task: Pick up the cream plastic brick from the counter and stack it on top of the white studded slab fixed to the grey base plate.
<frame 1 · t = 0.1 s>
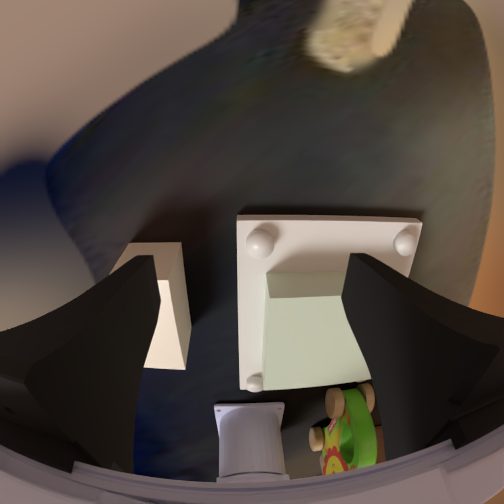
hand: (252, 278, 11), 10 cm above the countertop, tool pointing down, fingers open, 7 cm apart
block: (352, 439, 39), on the countertop
white studded slab: (320, 314, 25), on the countertop
cream brick: (162, 287, 23), on the countertop
toy lion: (333, 412, 34), on the countertop
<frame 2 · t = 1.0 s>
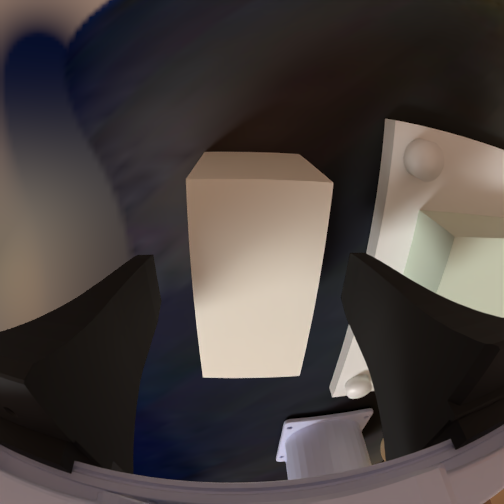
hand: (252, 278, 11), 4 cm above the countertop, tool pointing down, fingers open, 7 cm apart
white studded slab: (450, 281, 16), on the countertop
cream brick: (249, 236, 14), on the countertop
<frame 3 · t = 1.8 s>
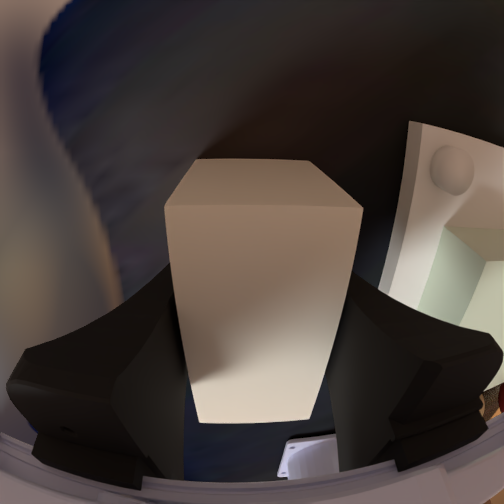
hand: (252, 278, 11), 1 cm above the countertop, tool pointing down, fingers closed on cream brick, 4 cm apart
white studded slab: (467, 299, 14), on the countertop
cream brick: (250, 258, 12), on the countertop, touching gripper
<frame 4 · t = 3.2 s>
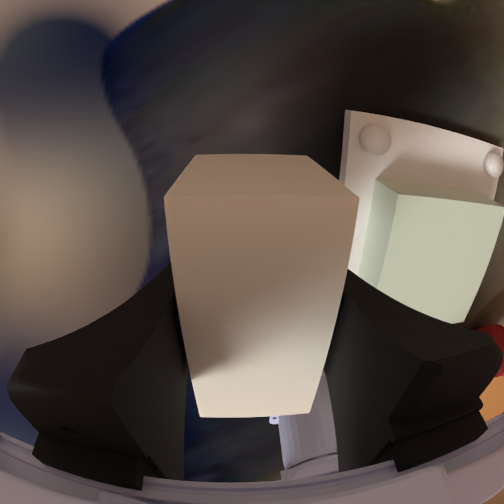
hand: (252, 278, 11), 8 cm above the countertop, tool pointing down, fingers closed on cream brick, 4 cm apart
onion: (475, 328, 26), on the countertop
white studded slab: (414, 245, 20), on the countertop
cream brick: (250, 253, 12), point 7 cm above the countertop, touching gripper
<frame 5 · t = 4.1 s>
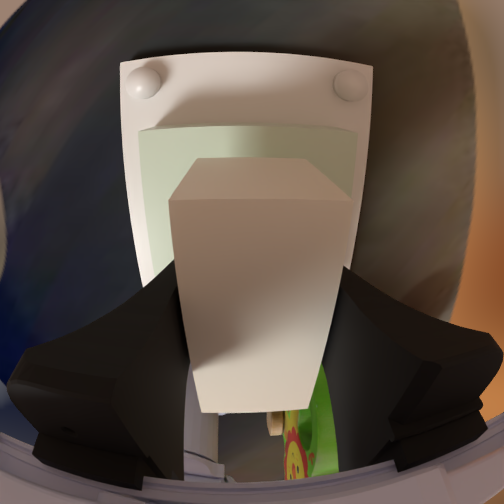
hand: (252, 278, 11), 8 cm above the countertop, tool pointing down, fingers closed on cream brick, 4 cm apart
white studded slab: (245, 203, 18), on the countertop
cream brick: (250, 253, 12), point 6 cm above the countertop, touching gripper
toy lion: (296, 382, 27), on the countertop
when the fingers open (7 cm above the countertop, at t = 4.7 s): cream brick stays where it is, resting on white studded slab.
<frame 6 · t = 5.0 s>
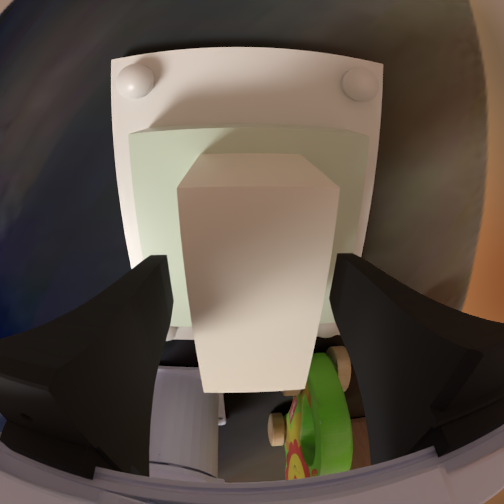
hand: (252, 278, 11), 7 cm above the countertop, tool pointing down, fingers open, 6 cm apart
block: (332, 434, 31), on the countertop
white studded slab: (246, 211, 17), on the countertop
cream brick: (249, 243, 13), point 4 cm above the countertop, touching white studded slab
toy lion: (298, 392, 26), on the countertop
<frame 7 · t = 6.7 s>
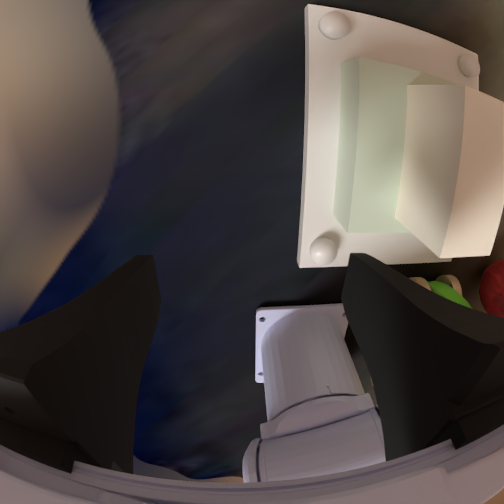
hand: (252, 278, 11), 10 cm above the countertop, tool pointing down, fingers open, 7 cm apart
onion: (483, 270, 24), on the countertop
white studded slab: (398, 145, 18), on the countertop
cream brick: (430, 156, 14), point 4 cm above the countertop, touching white studded slab
toy lion: (401, 332, 27), on the countertop
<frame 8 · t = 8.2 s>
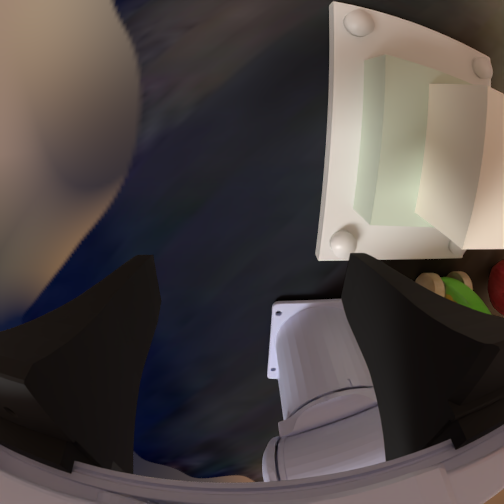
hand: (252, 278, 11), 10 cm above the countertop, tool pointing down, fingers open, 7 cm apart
onion: (491, 267, 24), on the countertop
white studded slab: (416, 142, 18), on the countertop
cream brick: (448, 153, 14), point 4 cm above the countertop, touching white studded slab
toy lion: (412, 329, 27), on the countertop
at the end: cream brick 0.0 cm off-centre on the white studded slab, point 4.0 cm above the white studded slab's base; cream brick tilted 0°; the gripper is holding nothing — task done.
